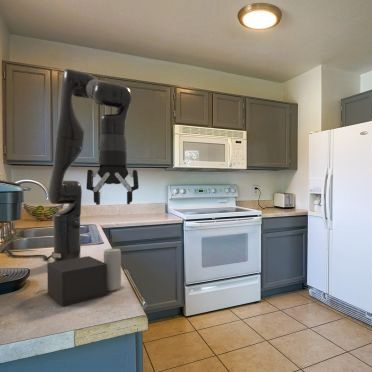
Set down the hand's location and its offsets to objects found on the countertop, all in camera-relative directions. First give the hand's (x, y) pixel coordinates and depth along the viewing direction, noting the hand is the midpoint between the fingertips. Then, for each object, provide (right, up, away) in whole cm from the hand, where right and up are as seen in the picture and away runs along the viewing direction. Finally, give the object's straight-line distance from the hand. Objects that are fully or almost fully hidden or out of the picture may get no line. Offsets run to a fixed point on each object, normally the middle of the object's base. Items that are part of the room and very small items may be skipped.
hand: (113, 204), depth 95 cm
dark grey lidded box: (-9, -26, -3) cm, 28 cm away
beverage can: (-1, -26, +2) cm, 26 cm away
